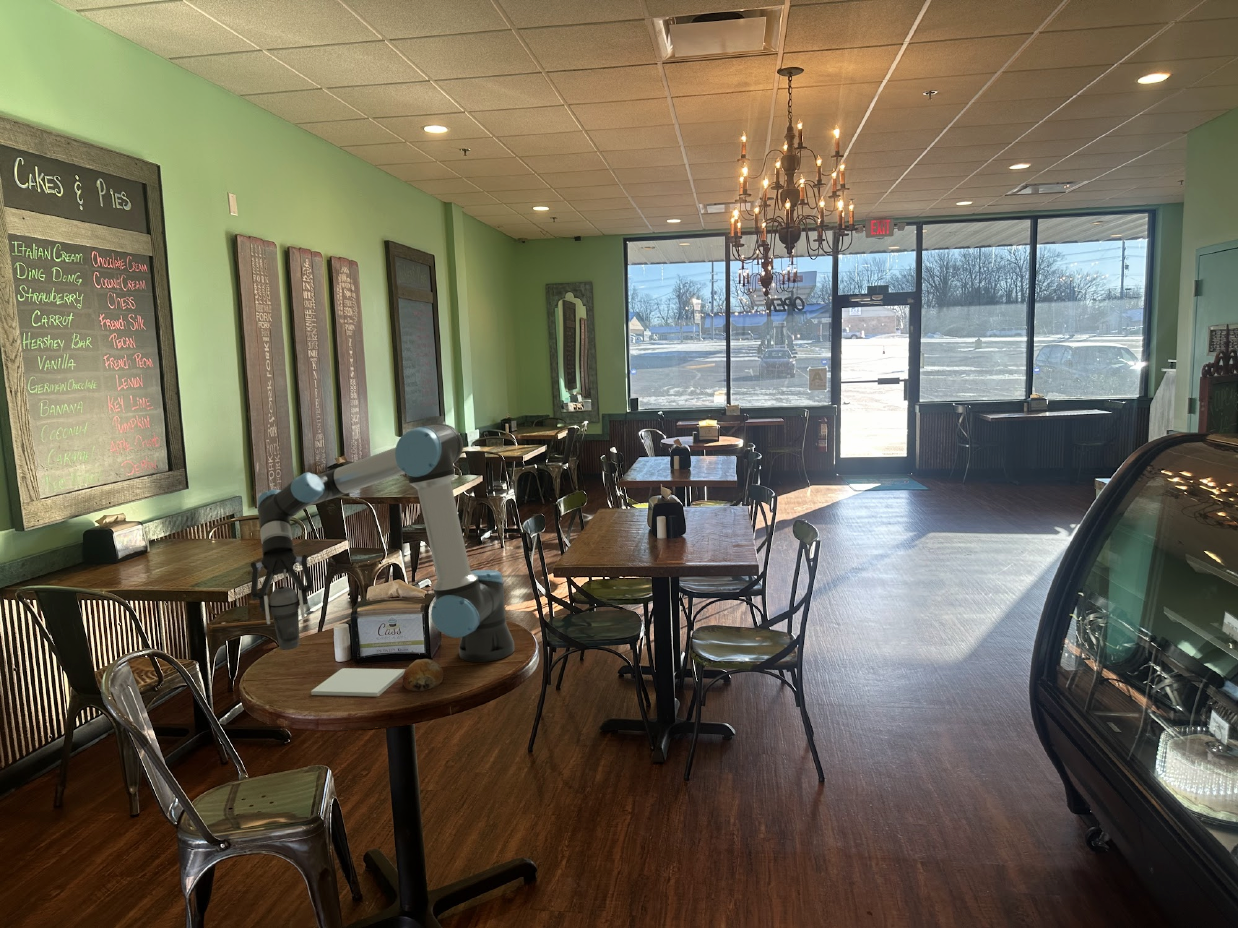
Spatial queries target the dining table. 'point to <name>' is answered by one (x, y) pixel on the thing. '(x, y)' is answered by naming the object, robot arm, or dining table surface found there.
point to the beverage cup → (285, 616)
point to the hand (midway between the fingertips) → (285, 618)
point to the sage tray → (358, 682)
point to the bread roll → (422, 675)
